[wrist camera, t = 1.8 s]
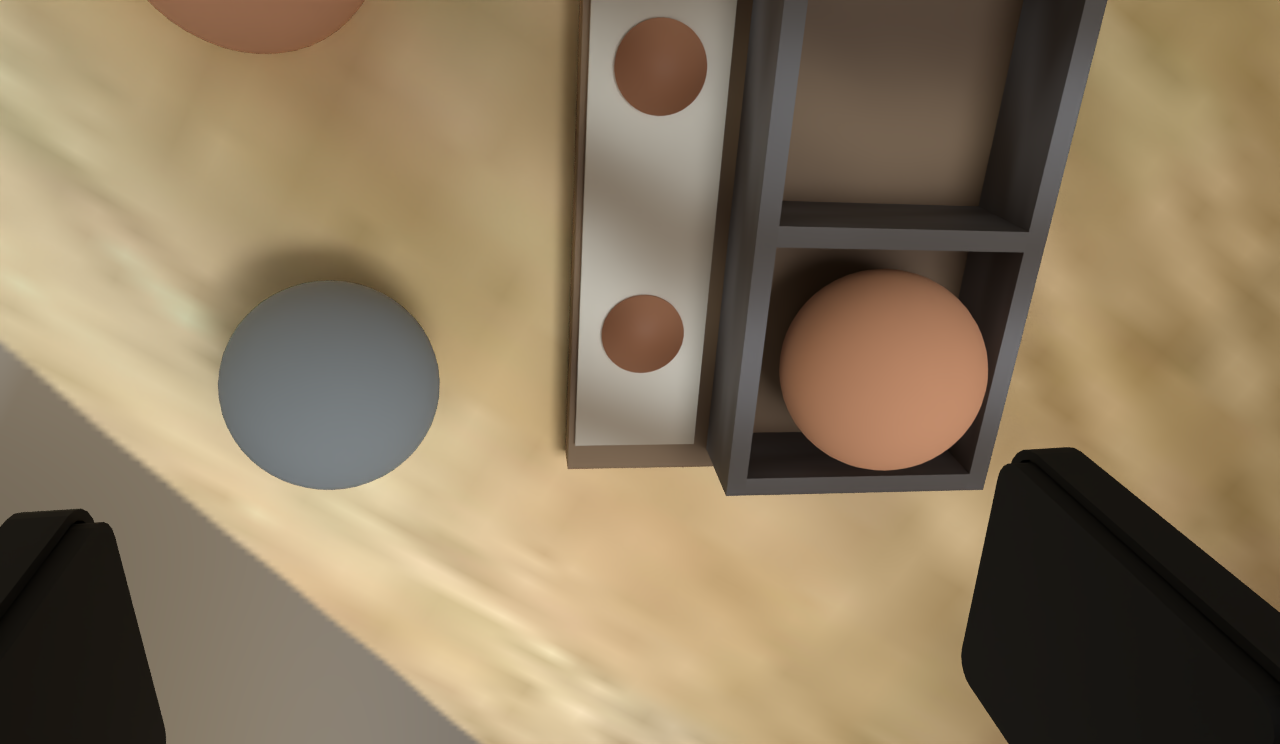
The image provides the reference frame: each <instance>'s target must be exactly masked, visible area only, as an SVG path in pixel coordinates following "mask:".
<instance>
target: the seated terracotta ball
mask: <svg viewBox="0 0 1280 744" xmlns="http://www.w3.org/2000/svg"><path fill="white" fill-rule="evenodd" d="M779 377H780V385H781V390H782V394H783V399H784V401H785V404H786V407H787V409H788V411H789V413H790V415H791V417H792V419H793V420H794V422H795V424H796V425H797V427H798V428H799V429H800V430H801V432H802V433H803V434H804V435H805V436H806V438H807V439H808V440H809V441H810V442H812V443H813V444H814V445H815V446H816V447H817V448H819V449H820V450H821V451H823V452H824V453H826V454H827V455H829V456H830V457H832V458H835V459H837V460H839V461H841V462H843V463H846V464H848V465H851V466H855V467H859V468H865V469H871V470H884V471H885V470H897V469H903V468H908V467H913V466H916V465H919V464H922V463H924V462H927V461H929V460H931V459H933V458H935V457H936V456H938V455H940V454H942V453H943V452H944V451H946V450H947V449H949V448H950V447H951V446H952V445H953V444H955V443H956V442H957V441H958V440H959V439H960V438H961V437H962V436H963V435H964V433H965V432H966V431H967V430H968V428H969V427H970V426H971V424H972V423H973V421H974V419H975V418H976V416H977V414H978V412H979V409H980V407H981V405H982V402H983V398H984V395H985V392H986V387H987V381H988V360H987V351H986V348H985V344H984V340H983V337H982V334H981V332H980V330H979V327H978V325H977V323H976V322H975V320H974V319H973V317H972V316H971V314H970V312H969V311H968V309H967V308H966V307H965V306H964V305H963V304H962V302H961V301H960V300H959V299H958V298H957V297H956V296H954V295H953V294H952V293H951V292H950V291H948V290H947V289H946V288H945V287H943V286H941V285H939V284H938V283H936V282H934V281H932V280H930V279H929V278H926V277H924V276H921V275H918V274H915V273H911V272H907V271H903V270H896V269H871V270H865V271H859V272H856V273H852V274H849V275H846V276H844V277H842V278H839V279H837V280H835V281H833V282H831V283H830V284H828V285H826V286H825V287H823V288H822V289H820V290H819V291H818V292H816V293H815V294H814V295H813V296H812V297H811V298H810V299H809V300H808V301H807V302H806V303H805V304H804V305H803V306H802V308H801V309H800V310H799V311H798V313H797V314H796V316H795V317H794V319H793V321H792V322H791V324H790V326H789V328H788V330H787V332H786V335H785V338H784V341H783V344H782V349H781V354H780V364H779Z"/></svg>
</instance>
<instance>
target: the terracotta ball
mask: <svg viewBox="0 0 1280 744" xmlns="http://www.w3.org/2000/svg"><path fill="white" fill-rule="evenodd" d="M148 1H149V2H150V3H151V4H152V5H153V6H154V7H155V8H156V9H157V10H158V11H159V12H161V13H162V14H163V15H164V16H165V17H167V18H168V19H169V20H170V21H172V22H173V23H175V24H176V25H178V26H179V27H181V28H182V29H184V30H185V31H187V32H189V33H191V34H193V35H195V36H197V37H199V38H201V39H203V40H205V41H207V42H210V43H213V44H215V45H218V46H221V47H223V48H227V49H231V50H236V51H240V52H247V53H256V54H272V53H282V52H289V51H295V50H298V49H302V48H305V47H308V46H311V45H313V44H315V43H317V42H320V41H322V40H324V39H325V38H327V37H328V36H330V35H331V34H333V33H334V32H336V31H337V30H339V29H340V28H341V27H342V26H343V25H344V24H345V23H346V22H347V21H348V20H349V19H350V18H351V17H352V16H353V15H354V14H355V12H356V11H357V10H358V9H359V7H360V6H361V5H362V3H363V1H364V0H148Z"/></svg>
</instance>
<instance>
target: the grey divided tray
mask: <svg viewBox="0 0 1280 744" xmlns="http://www.w3.org/2000/svg"><path fill="white" fill-rule="evenodd" d="M1106 4H1107V0H580V5H579V37H578V69H577V101H576V133H575V165H574V197H573V229H572V261H571V293H570V325H569V357H568V389H567V421H566V459H567V466H568V469H593V468H647V467H701V466H714V468H715V471H716V473H717V475H718V478H719V480H720V483H721V485H722V487H723V490H724V492H725V494H726V496H740V495H782V494H824V493H866V492H908V491H950V490H983V487H984V483H985V480H986V476H987V472H988V468H989V464H990V460H991V456H992V452H993V448H994V444H995V440H996V436H997V432H998V428H999V424H1000V420H1001V417H1002V413H1003V409H1004V405H1005V401H1006V397H1007V393H1008V389H1009V385H1010V381H1011V377H1012V373H1013V369H1014V365H1015V361H1016V358H1017V354H1018V350H1019V346H1020V342H1021V338H1022V334H1023V330H1024V326H1025V322H1026V318H1027V314H1028V310H1029V306H1030V302H1031V299H1032V295H1033V291H1034V287H1035V283H1036V279H1037V275H1038V271H1039V267H1040V263H1041V259H1042V255H1043V251H1044V247H1045V243H1046V240H1047V236H1048V232H1049V228H1050V224H1051V220H1052V216H1053V212H1054V208H1055V204H1056V200H1057V196H1058V192H1059V188H1060V184H1061V181H1062V177H1063V173H1064V169H1065V165H1066V161H1067V157H1068V153H1069V149H1070V145H1071V141H1072V137H1073V133H1074V129H1075V125H1076V122H1077V118H1078V114H1079V110H1080V106H1081V102H1082V98H1083V94H1084V90H1085V86H1086V82H1087V78H1088V74H1089V70H1090V66H1091V63H1092V59H1093V55H1094V51H1095V47H1096V43H1097V39H1098V35H1099V31H1100V27H1101V23H1102V19H1103V15H1104V11H1105V7H1106ZM871 269H896V270H903V271H907V272H911V273H915V274H918V275H921V276H924V277H926V278H929V279H930V280H932V281H934V282H936V283H938V284H939V285H941V286H943V287H945V288H946V289H947V290H948V291H950V292H951V293H952V294H953V295H954V296H956V297H957V298H958V299H959V300H960V301H961V302H962V304H963V305H964V306H965V307H966V308H967V309H968V311H969V312H970V314H971V316H972V317H973V319H974V320H975V322H976V323H977V325H978V327H979V330H980V332H981V334H982V337H983V340H984V344H985V348H986V351H987V360H988V381H987V387H986V392H985V395H984V398H983V402H982V405H981V407H980V409H979V412H978V414H977V416H976V418H975V419H974V421H973V423H972V424H971V426H970V427H969V428H968V430H967V431H966V432H965V433H964V435H963V436H962V437H961V438H960V439H959V440H958V441H957V442H956V443H955V444H953V445H952V446H951V447H950V448H949V449H947V450H946V451H944V452H943V453H942V454H940V455H938V456H936V457H935V458H933V459H931V460H929V461H927V462H924V463H922V464H919V465H916V466H913V467H908V468H903V469H897V470H885V471H884V470H871V469H865V468H859V467H855V466H851V465H848V464H846V463H843V462H841V461H839V460H837V459H835V458H832V457H830V456H829V455H827V454H826V453H824V452H823V451H821V450H820V449H819V448H817V447H816V446H815V445H814V444H813V443H812V442H810V441H809V440H808V439H807V438H806V436H805V435H804V434H803V433H802V432H801V430H800V429H799V428H798V427H797V425H796V424H795V422H794V420H793V419H792V417H791V415H790V413H789V411H788V409H787V407H786V404H785V401H784V399H783V394H782V390H781V385H780V377H779V364H780V354H781V349H782V344H783V341H784V338H785V335H786V332H787V330H788V328H789V326H790V324H791V322H792V321H793V319H794V317H795V316H796V314H797V313H798V311H799V310H800V309H801V308H802V306H803V305H804V304H805V303H806V302H807V301H808V300H809V299H810V298H811V297H812V296H813V295H814V294H815V293H816V292H818V291H819V290H820V289H822V288H823V287H825V286H826V285H828V284H830V283H831V282H833V281H835V280H837V279H839V278H842V277H844V276H846V275H849V274H852V273H856V272H859V271H865V270H871Z"/></svg>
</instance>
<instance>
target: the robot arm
mask: <svg viewBox="0 0 1280 744" xmlns="http://www.w3.org/2000/svg"><path fill="white" fill-rule="evenodd" d="M961 658H962V667H963V671H964V674H965V677H966V680H967V682H968V684H969V685H970V687H971V689H972V690H973V692H974V693H975V694H976V696H977V697H978V699H979V700H980V702H981V703H982V705H983V706H984V708H985V709H986V711H987V712H988V714H989V715H990V717H991V718H992V720H993V721H994V723H995V724H996V726H997V727H998V729H999V730H1000V732H1001V733H1002V735H1003V736H1004V737H1005V739H1006V740H1007V742H1008V743H1009V744H1280V612H1278V611H1277V610H1276V609H1275V608H1273V607H1272V606H1271V605H1270V604H1268V603H1267V602H1266V601H1265V600H1264V599H1262V598H1261V597H1260V596H1259V595H1257V594H1256V593H1255V592H1254V591H1252V590H1251V589H1250V588H1249V587H1247V586H1246V585H1245V584H1244V583H1243V582H1241V581H1240V580H1239V579H1238V578H1236V577H1235V576H1234V575H1233V574H1231V573H1230V572H1229V571H1228V570H1226V569H1225V568H1224V567H1223V566H1222V565H1220V564H1219V563H1218V562H1217V561H1215V560H1214V559H1213V558H1212V557H1210V556H1209V555H1208V554H1207V553H1205V552H1204V551H1203V550H1202V549H1201V548H1199V547H1198V546H1197V545H1196V544H1194V543H1193V542H1192V541H1191V540H1189V539H1188V538H1187V537H1186V536H1184V535H1183V534H1182V533H1181V532H1180V531H1178V530H1177V529H1176V528H1175V527H1173V526H1172V525H1171V524H1170V523H1168V522H1167V521H1166V520H1165V519H1163V518H1162V517H1161V516H1160V515H1159V514H1157V513H1156V512H1155V511H1154V510H1152V509H1151V508H1150V507H1149V506H1147V505H1146V504H1145V503H1144V502H1142V501H1141V500H1140V499H1139V498H1138V497H1136V496H1135V495H1134V494H1133V493H1131V492H1130V491H1129V490H1128V489H1126V488H1125V487H1124V486H1123V485H1121V484H1120V483H1119V482H1118V481H1117V480H1115V479H1114V478H1113V477H1112V476H1110V475H1109V474H1108V473H1107V472H1105V471H1104V470H1103V469H1102V468H1100V467H1099V466H1098V465H1097V464H1096V463H1094V462H1093V461H1092V460H1091V459H1089V458H1088V457H1087V456H1086V455H1084V454H1083V453H1082V452H1081V451H1079V450H1077V449H1075V448H1070V447H1063V448H1047V449H1031V450H1022V451H1020V452H1019V453H1017V454H1016V456H1015V457H1014V458H1013V460H1012V463H1011V464H1007V465H1005V466H1003V468H1002V469H1001V470H1000V473H999V476H998V480H997V484H996V489H995V494H994V499H993V504H992V508H991V513H990V518H989V523H988V527H987V532H986V537H985V542H984V546H983V551H982V556H981V561H980V565H979V570H978V575H977V580H976V584H975V589H974V594H973V599H972V603H971V608H970V613H969V618H968V623H967V627H966V632H965V637H964V642H963V646H962V654H961ZM0 744H166V733H165V727H164V723H163V719H162V715H161V711H160V707H159V703H158V700H157V696H156V692H155V688H154V685H153V681H152V677H151V673H150V669H149V665H148V661H147V658H146V654H145V650H144V646H143V642H142V638H141V635H140V631H139V627H138V623H137V619H136V615H135V612H134V608H133V604H132V600H131V596H130V592H129V589H128V585H127V581H126V577H125V573H124V570H123V566H122V562H121V558H120V554H119V551H118V546H117V543H116V539H115V536H114V533H113V530H112V528H111V527H110V526H109V524H107V523H105V522H98V523H94V520H93V518H92V517H91V516H90V514H89V513H88V512H87V511H85V510H83V509H70V510H53V511H37V512H23V513H22V512H21V513H16V514H13V515H12V516H11V517H10V518H8V519H7V520H6V521H5V522H4V523H3V525H2V526H1V527H0Z"/></svg>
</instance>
